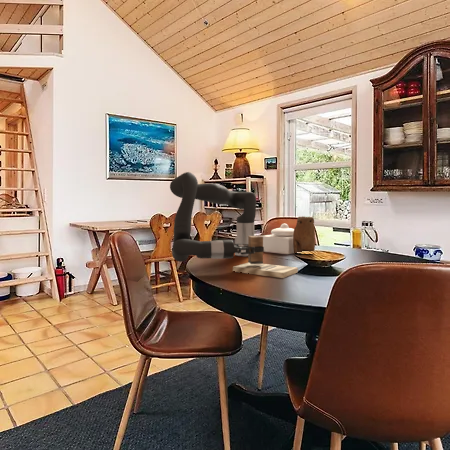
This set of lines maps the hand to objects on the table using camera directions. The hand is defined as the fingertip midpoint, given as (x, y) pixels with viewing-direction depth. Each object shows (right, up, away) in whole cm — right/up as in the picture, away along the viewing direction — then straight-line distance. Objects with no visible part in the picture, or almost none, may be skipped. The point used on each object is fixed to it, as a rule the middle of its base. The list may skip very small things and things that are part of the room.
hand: (261, 248), depth 160 cm
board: (+1, -10, -2) cm, 10 cm away
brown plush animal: (+27, -6, +45) cm, 52 cm away
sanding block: (-3, -6, 0) cm, 7 cm away
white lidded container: (+18, -5, +57) cm, 60 cm away
